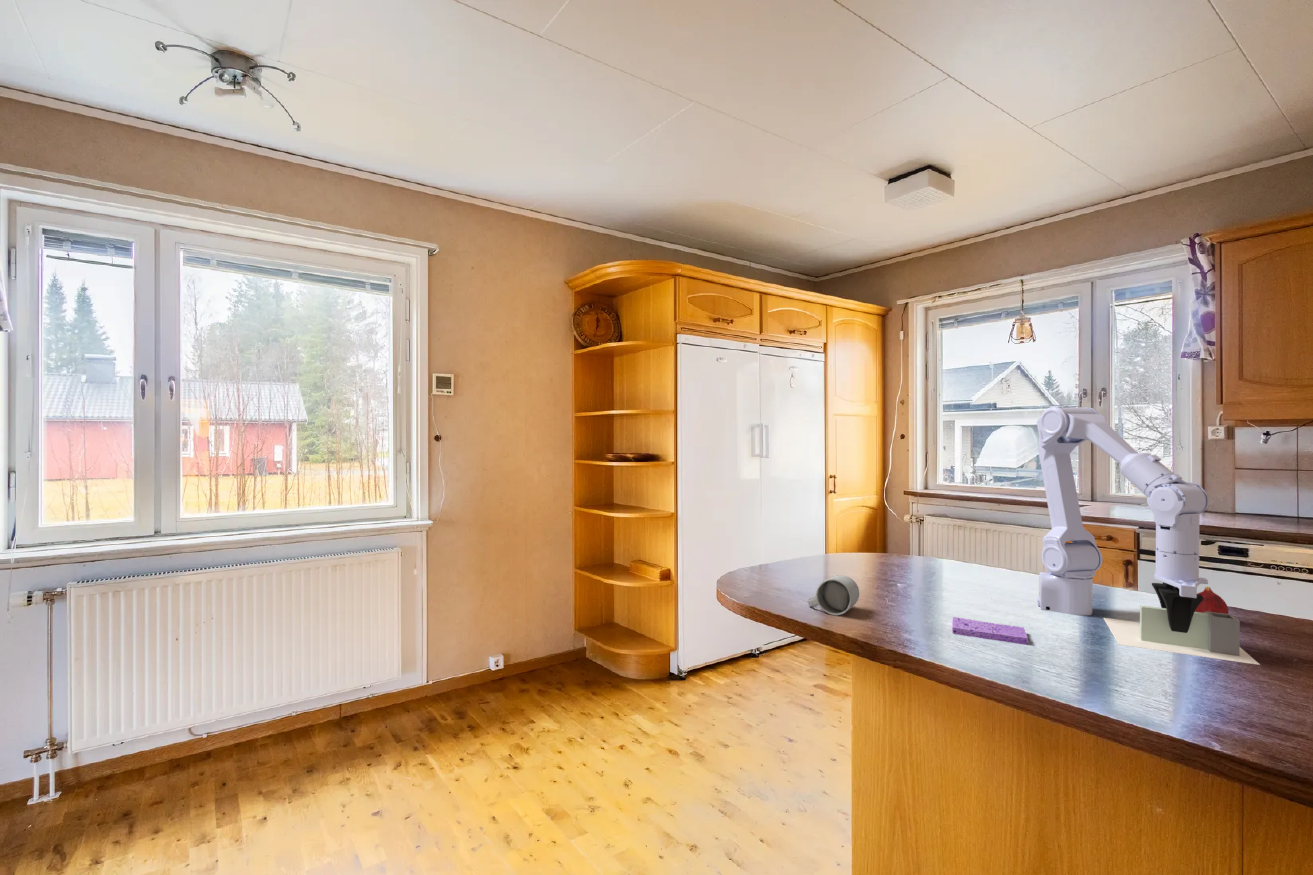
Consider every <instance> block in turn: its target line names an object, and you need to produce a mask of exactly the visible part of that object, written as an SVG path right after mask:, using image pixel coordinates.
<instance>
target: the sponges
mask: <svg viewBox="0 0 1313 875" xmlns="http://www.w3.org/2000/svg"><path fill="white" fill-rule="evenodd" d="M951 620H952V622H951V623H952V625H951V628H952V629H951V630H952V634H953V635H959V636H960V635H961V636H966V637H972V638H979V639H985V640H987V639H988V640H992V641H993V640H994V641H999V642H1007V643H1013V644H1019V645H1028V644H1029V637H1028V635H1027V634H1026V630H1025V627H1023V626H1015V625H1012V626H1011V625H1009V624H999V623H994V622H988V621H982V620H975V619H969V618H962V617H956V616H952V619H951Z"/></svg>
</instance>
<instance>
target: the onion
mask: <svg viewBox="0 0 1313 875" xmlns="http://www.w3.org/2000/svg"><path fill="white" fill-rule="evenodd" d="M1197 594H1201V595H1202V596H1203V597H1204V598H1203V601H1202V602H1201V603H1200V604H1199V605H1198V607H1197V608H1196V610H1195V612H1201V613H1204V611H1206V612H1215V613H1223V614H1230V612H1229V607H1228V604H1227V603H1226V601H1225V600H1224V599H1223V598H1222V597H1221V595H1220V596H1219V595H1218V594H1217V593H1215V592H1214V591H1213V590H1212V588H1211V587H1210V586H1205V587H1204V590H1203V591H1200V592H1198V593H1197Z"/></svg>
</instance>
